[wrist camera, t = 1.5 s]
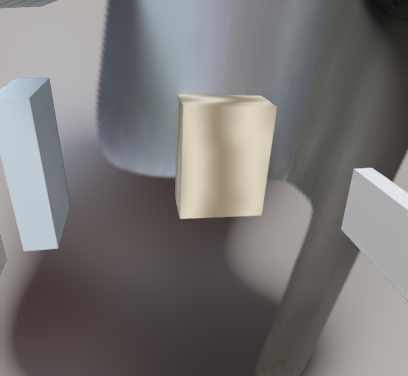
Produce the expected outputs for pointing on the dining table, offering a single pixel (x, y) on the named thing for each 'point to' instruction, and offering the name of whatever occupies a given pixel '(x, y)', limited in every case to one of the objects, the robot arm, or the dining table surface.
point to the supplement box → (23, 3)
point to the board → (33, 162)
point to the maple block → (222, 154)
